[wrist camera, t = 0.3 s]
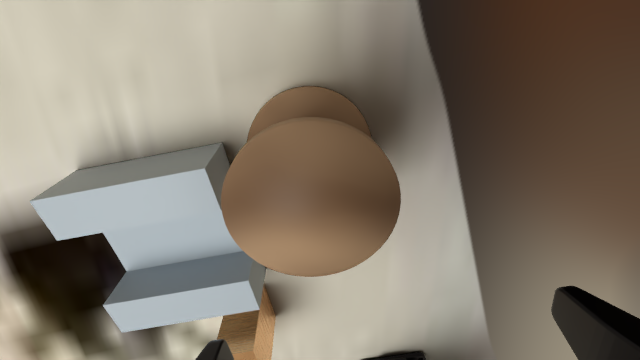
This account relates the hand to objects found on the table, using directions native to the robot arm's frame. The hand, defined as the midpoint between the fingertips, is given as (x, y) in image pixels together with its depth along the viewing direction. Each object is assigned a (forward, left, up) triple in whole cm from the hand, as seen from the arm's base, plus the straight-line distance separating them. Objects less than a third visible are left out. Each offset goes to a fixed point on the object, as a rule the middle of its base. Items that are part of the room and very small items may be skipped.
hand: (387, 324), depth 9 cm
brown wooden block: (-13, +10, -14) cm, 21 cm away
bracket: (-4, +13, -14) cm, 19 cm away
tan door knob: (0, +2, -14) cm, 14 cm away
